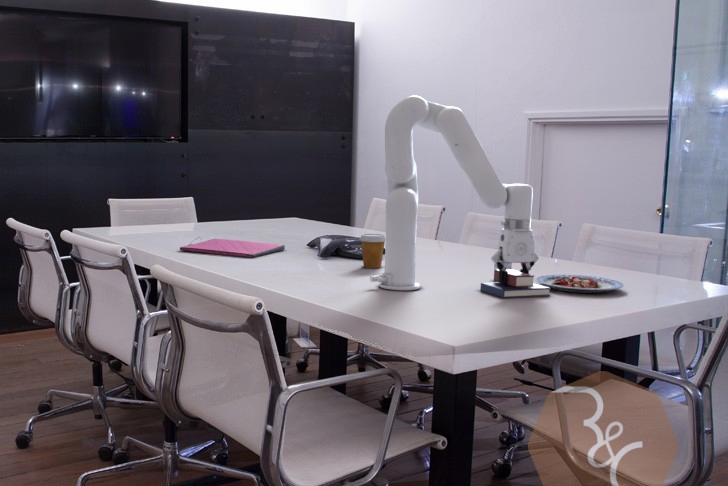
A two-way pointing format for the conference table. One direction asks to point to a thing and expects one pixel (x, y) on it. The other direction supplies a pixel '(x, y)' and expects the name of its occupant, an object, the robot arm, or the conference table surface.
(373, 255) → the disposable coffee cup
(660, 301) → the conference table surface
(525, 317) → the conference table surface
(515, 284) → the paperback
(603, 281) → the ceramic plate
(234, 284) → the conference table surface
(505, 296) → the hardback
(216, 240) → the laptop bag
